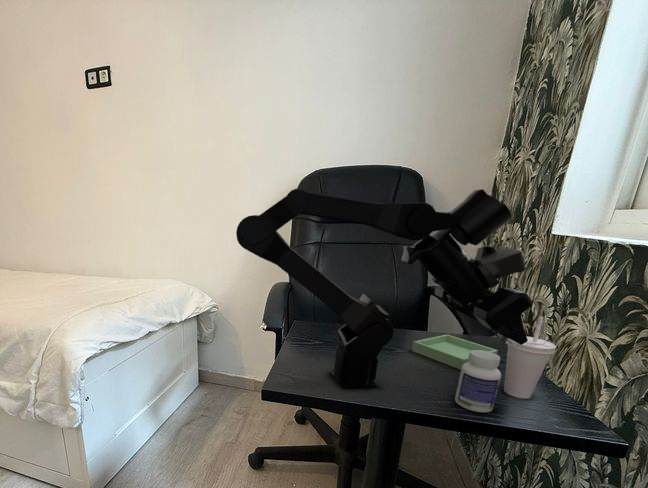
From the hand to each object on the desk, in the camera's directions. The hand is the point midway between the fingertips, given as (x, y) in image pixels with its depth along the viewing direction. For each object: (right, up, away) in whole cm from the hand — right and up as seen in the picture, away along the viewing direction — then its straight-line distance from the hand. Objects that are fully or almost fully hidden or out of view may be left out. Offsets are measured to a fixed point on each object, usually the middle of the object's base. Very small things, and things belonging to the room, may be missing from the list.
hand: (506, 333), depth 60 cm
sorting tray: (+3, -6, +19) cm, 20 cm away
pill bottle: (-7, -12, -2) cm, 14 cm away
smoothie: (+4, -11, +3) cm, 12 cm away
